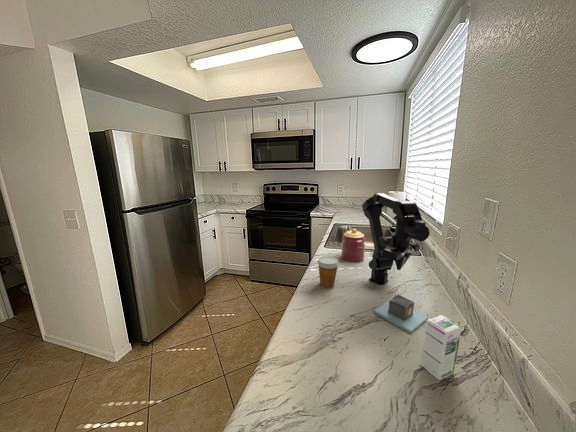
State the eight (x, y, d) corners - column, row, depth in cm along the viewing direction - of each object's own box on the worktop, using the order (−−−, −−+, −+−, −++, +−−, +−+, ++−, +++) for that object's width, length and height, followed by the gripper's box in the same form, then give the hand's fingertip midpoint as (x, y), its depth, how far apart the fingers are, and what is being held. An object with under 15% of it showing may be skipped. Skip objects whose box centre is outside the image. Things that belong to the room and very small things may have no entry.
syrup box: (439, 381, 61) (448, 333, 58) (419, 364, 67) (426, 318, 63) (454, 373, 64) (463, 326, 60) (433, 357, 69) (440, 313, 66)
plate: (373, 312, 89) (373, 309, 89) (391, 301, 96) (391, 299, 96) (410, 333, 78) (411, 330, 78) (427, 319, 85) (428, 317, 85)
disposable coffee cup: (339, 281, 112) (341, 257, 109) (334, 291, 103) (336, 266, 101) (320, 277, 116) (321, 254, 113) (313, 286, 107) (314, 262, 105)
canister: (360, 264, 131) (363, 233, 127) (337, 259, 137) (339, 229, 133) (366, 256, 142) (368, 227, 138) (344, 252, 148) (346, 224, 144)
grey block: (388, 312, 88) (389, 300, 87) (396, 306, 91) (398, 294, 90) (404, 321, 83) (406, 308, 82) (413, 314, 86) (414, 302, 85)
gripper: (396, 225, 105) (392, 258, 109) (370, 232, 95) (367, 268, 98) (422, 230, 97) (417, 266, 100) (397, 239, 86) (393, 279, 89)
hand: (398, 269), depth 97 cm, fingers closed
